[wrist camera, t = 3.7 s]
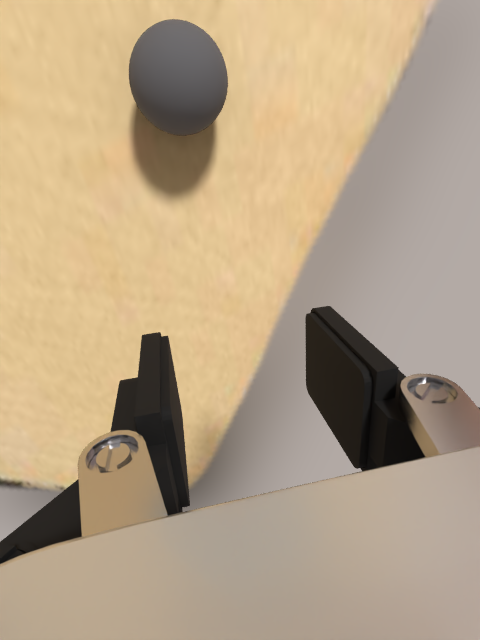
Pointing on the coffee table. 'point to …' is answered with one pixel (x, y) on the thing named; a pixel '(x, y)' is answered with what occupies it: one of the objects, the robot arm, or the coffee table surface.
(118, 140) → the coffee table surface
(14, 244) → the coffee table surface
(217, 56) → the grey ball
